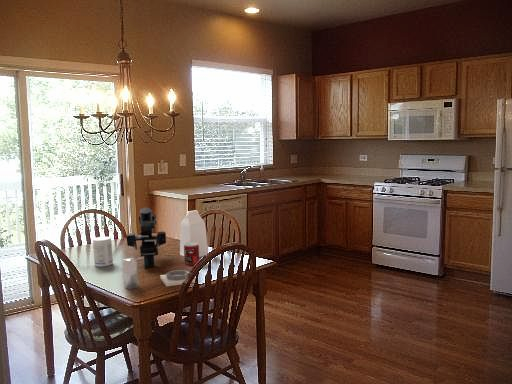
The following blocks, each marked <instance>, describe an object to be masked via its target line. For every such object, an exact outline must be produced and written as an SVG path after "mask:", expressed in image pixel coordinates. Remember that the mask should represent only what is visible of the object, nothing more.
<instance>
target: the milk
mask: <svg viewBox="0 0 512 384" xmlns="http://www.w3.org/2000/svg"><path fill="white" fill-rule="evenodd" d="M179 228H180V229H179V232H180V233H179V234H180V235H179V255H180V256H181V255H182V256H181V257H184V244H185V243H189V242H196V243H198V244H199V258H201V257H204V255H206V254H207V253H208V254H209V249H208V248H209V247H208V238H207V237H208V236H207V228H206V222H205V220H204V219H203V218H202V217H201V215H200V214H199V211H198V209H196V210H190V211H189V210H188V211H186V215H185V217H184V218H183V220H182V221H181V222H180V226H179ZM206 256H207V255H206Z"/></svg>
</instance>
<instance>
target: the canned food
mask: <svg viewBox="0 0 512 384" xmlns="http://www.w3.org/2000/svg"><path fill="white" fill-rule="evenodd" d="M183 257H184V260H183V261H184V264H185V265H186V266H196V265H195V264H196V263H197V262H198V261H199V262H200V257H199V244H198V243H196V242H189V243H185V244H184V256H183Z"/></svg>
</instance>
